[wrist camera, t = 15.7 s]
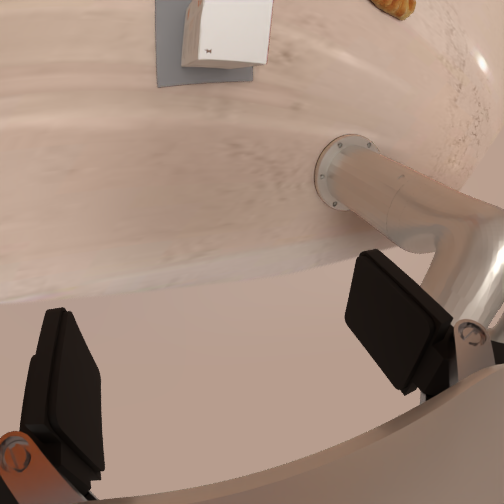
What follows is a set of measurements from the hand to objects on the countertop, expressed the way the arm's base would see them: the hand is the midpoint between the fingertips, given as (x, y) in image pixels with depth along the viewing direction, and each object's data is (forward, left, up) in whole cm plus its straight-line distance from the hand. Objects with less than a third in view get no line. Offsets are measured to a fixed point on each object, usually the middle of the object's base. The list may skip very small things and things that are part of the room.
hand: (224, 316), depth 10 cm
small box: (-6, -12, -34) cm, 37 cm away
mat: (-6, -12, -34) cm, 37 cm away
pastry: (-34, -22, -35) cm, 54 cm away
